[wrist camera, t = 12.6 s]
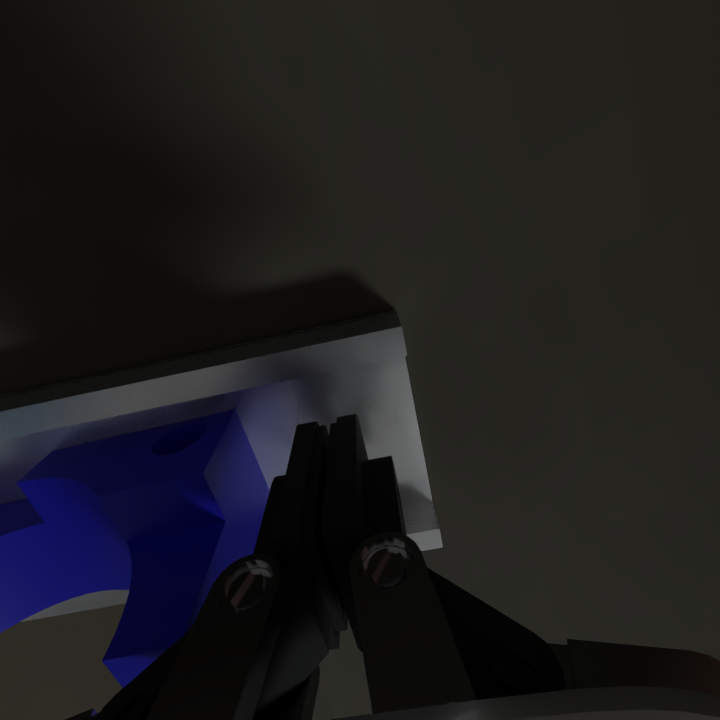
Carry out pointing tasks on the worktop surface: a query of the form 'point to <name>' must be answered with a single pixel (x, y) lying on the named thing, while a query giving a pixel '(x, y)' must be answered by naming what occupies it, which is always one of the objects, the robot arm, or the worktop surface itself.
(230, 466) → the blue plastic bracket
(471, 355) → the worktop surface
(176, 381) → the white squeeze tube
